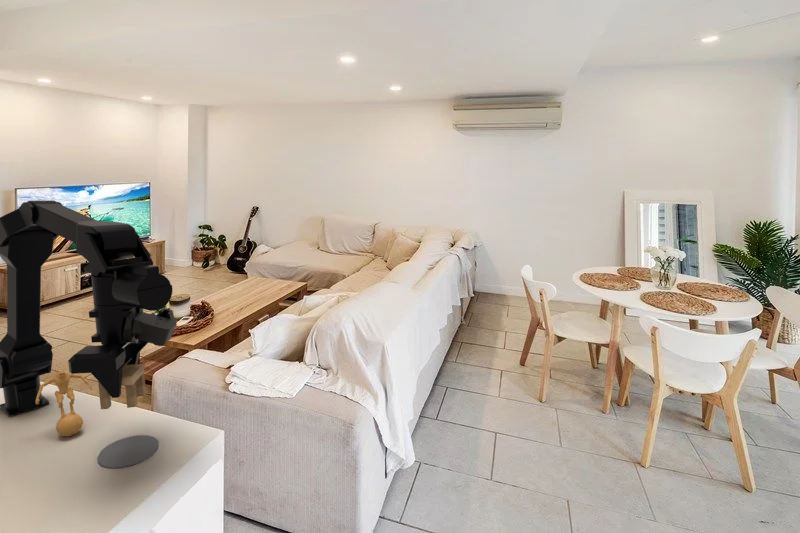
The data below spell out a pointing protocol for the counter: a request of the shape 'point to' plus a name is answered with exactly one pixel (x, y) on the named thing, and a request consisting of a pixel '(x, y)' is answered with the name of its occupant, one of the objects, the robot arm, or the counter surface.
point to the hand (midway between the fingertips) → (123, 389)
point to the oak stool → (127, 386)
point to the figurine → (67, 422)
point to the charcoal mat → (128, 451)
